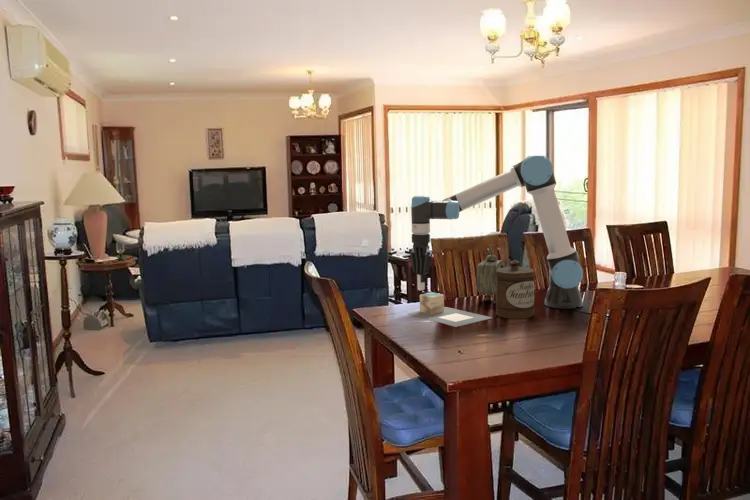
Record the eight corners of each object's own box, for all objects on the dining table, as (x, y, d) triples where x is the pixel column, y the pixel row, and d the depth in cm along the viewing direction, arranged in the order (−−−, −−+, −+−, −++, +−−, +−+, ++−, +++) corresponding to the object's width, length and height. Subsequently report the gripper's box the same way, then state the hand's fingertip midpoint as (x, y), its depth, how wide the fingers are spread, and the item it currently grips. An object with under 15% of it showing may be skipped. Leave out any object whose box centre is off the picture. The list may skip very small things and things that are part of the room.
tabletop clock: (496, 305, 279) (496, 246, 275) (476, 303, 283) (475, 246, 279) (505, 298, 292) (505, 242, 288) (485, 296, 295) (485, 242, 292)
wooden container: (512, 320, 251) (512, 264, 248) (488, 313, 264) (488, 259, 261) (542, 315, 258) (542, 260, 255) (517, 308, 271) (517, 256, 268)
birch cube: (444, 311, 268) (443, 294, 267) (431, 314, 264) (431, 297, 263) (432, 308, 274) (432, 292, 273) (419, 311, 270) (419, 294, 269)
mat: (492, 318, 256) (492, 317, 256) (455, 327, 244) (455, 326, 244) (442, 306, 278) (442, 306, 278) (406, 314, 266) (406, 313, 266)
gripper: (403, 232, 272) (404, 288, 276) (424, 235, 262) (424, 293, 265) (417, 231, 277) (417, 286, 280) (438, 234, 266) (438, 290, 270)
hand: (421, 289), depth 273 cm, fingers closed
